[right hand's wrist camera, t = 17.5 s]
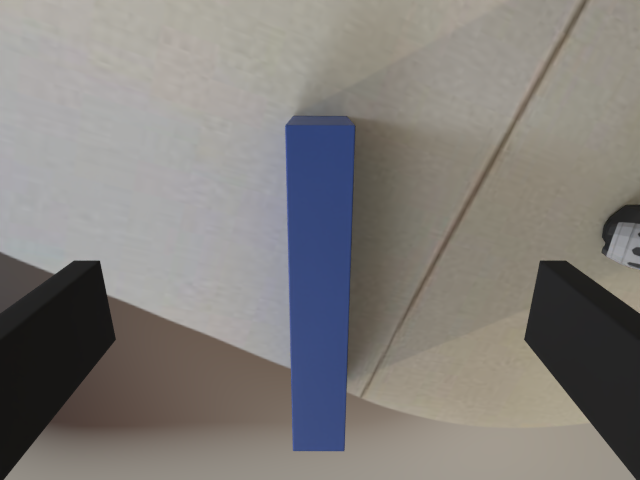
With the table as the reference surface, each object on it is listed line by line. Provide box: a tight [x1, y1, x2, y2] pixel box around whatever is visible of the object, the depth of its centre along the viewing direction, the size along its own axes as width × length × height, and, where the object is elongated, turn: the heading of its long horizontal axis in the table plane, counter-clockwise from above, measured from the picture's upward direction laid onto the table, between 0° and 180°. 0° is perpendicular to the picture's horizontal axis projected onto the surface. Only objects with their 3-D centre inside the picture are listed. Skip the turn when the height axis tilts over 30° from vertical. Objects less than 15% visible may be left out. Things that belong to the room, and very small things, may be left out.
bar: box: [285, 116, 355, 451], centre depth 35 cm, size 27×4×8 cm, turn 0°
